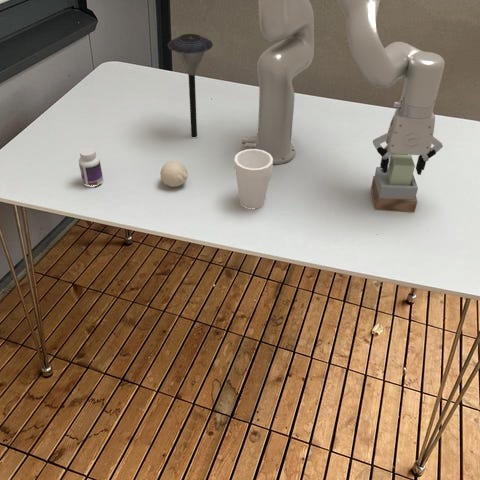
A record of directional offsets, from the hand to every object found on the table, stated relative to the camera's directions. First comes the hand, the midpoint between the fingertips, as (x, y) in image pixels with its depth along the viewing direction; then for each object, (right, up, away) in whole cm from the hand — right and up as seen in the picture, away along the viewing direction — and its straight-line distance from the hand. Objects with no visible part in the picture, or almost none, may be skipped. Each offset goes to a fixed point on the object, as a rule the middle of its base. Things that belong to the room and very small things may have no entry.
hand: (401, 170), depth 144 cm
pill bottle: (-80, -2, +10) cm, 81 cm away
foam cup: (-37, -8, +5) cm, 38 cm away
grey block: (-1, -4, +4) cm, 6 cm away
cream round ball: (-58, -3, +10) cm, 59 cm away
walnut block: (-1, -7, +6) cm, 10 cm away
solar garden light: (-54, +14, +29) cm, 63 cm away
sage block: (0, -2, +2) cm, 3 cm away
